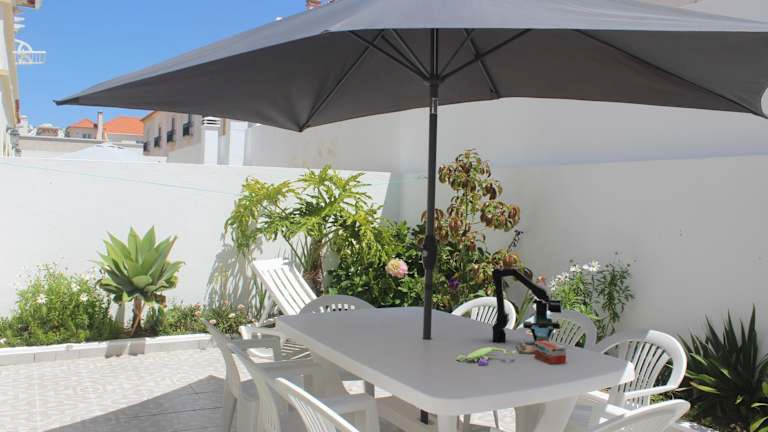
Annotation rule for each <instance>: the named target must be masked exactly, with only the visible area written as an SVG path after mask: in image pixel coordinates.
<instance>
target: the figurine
mask: <svg viewBox="0 0 768 432" xmlns="http://www.w3.org/2000/svg"><path fill="white" fill-rule="evenodd" d="M494 352H502V354H503V355H506V356H513V355H515V354H517V351H516V350H512V351H511V352H507V350H506V349H504V348H497V347H495V346H492V347H484V348H479V349H477V350H475V351H473V352H471V353H469V354H468V355H467V356H465V355H463V354H462V353H461V354H459V356H457V357H456V359H455V360H456V361H461V360H462V359H464V358H466V359H467V360H470V362H475V363H476V362H478V366H479V365H480V366H487V365H489V362H490V361H489V357H488V356H487V355H488V354H490V353H491V355H493V354H494ZM479 358H480V359H479Z"/></svg>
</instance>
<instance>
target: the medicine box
mask: <svg viewBox="0 0 768 432" xmlns="http://www.w3.org/2000/svg"><path fill="white" fill-rule="evenodd" d="M534 345H535V354H534V358H535V359H537V360H540V361H542V362H545V363H547V364H549V365H556V364H566V361H567V358H566V356H567V353H566V352H567V350H566V349H567V348H566V346H565V345H561V344H558V343H556V342H553V341H550V340H549V341H536V342H535V343H534Z"/></svg>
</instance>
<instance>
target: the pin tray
mask: <svg viewBox="0 0 768 432" xmlns="http://www.w3.org/2000/svg"><path fill="white" fill-rule="evenodd" d="M515 348H516V349H517V351H518V353H519V355H535V344H532V345H531V344H526V343H525V340H520V344H516V347H515Z"/></svg>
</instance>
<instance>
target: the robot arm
mask: <svg viewBox="0 0 768 432" xmlns="http://www.w3.org/2000/svg"><path fill="white" fill-rule="evenodd" d="M491 277H492V280H493V283H494V287H495V295H496V297H495V298H496V309H497V312H496V320H495V321H496V322H495V323H494V324H493V326H492V327H491V328H492V339H491V341H492V343H505V342H506V340H507V338H506V337H507V336H506V335H507V334H506V331H505V330H506V329H505V328H506V327H507V326H508V324H509V322H510V316H509V315H510V313H509V312H506V307H505V297H504V296H505V295H504V284H503V283H504V277H514V278H515V279H516V281H518V282H520V283H521V284H522V285H524V287H526V288H527V289H528V290H530V292H531V293H532V294H533V295H534V297H535V299H534V300H533V301H532V304H534V305H535V314H536V323H534V322H531V321H527V320H525V321H522V327H523V328H524V329H528V331H529V330H530V332H531V334H532V337H533V338H534V341H535V329H534V327H539V328H548V329H547V335H548V336H549V337H550V334H551V332H552V333H553V331H555V330H560V329H561V324H560V323H559V322H558V321H553V318H552V319H547V316H548V312H550V313H552V314H553V313H555V314H562V301H561V299H551V297H550V296H549V295H548V291H547V289H546V288H544V287H542V286H541V285H538V284H536V283H535V282H533V281H532V280H530V279H529V278H528V277H527V276H525V275H524V274H523V273H521V272H520V271H519V270H518V269H517V268H515V267H512V268H501V267H496V268H495V269H493V270H492V272H491Z"/></svg>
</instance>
